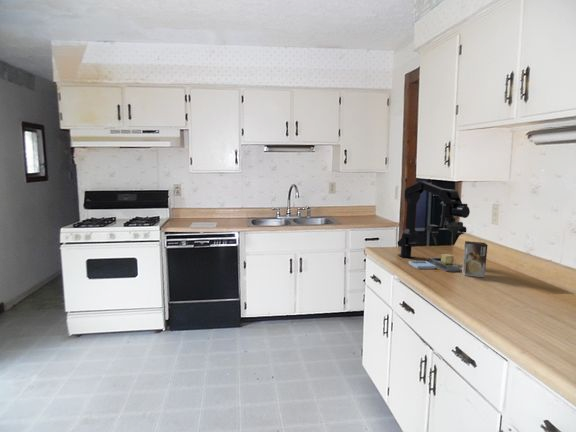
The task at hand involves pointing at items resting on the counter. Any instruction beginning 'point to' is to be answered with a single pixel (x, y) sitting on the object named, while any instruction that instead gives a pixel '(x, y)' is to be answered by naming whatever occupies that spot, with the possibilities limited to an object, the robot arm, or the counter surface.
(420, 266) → the tray
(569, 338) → the counter surface
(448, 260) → the brushed brass block
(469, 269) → the coffee box
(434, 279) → the counter surface
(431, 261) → the plate with rectangular hole
